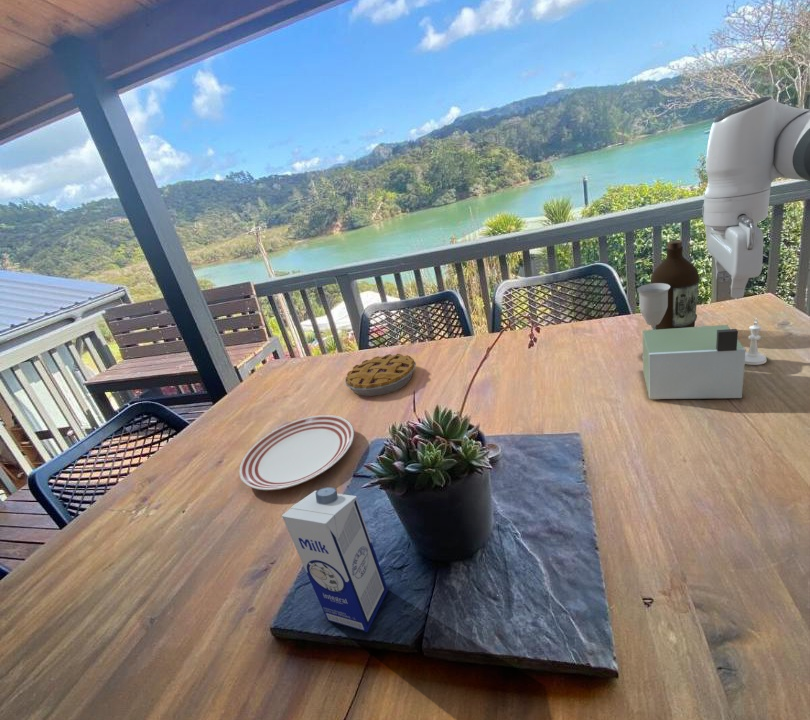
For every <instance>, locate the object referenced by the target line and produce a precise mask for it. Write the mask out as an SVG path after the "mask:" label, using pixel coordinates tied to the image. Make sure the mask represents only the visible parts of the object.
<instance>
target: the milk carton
mask: <svg viewBox="0 0 810 720" xmlns="http://www.w3.org/2000/svg"><path fill="white" fill-rule="evenodd" d="M281 518H282V520H283V522H284V524H285V526H286V529H287V531H288V533H289V536H290V538H291V540H292V542H293V545H294V547H295V550H296V552H297V554H298V556H299V559H300V561H301V563H302V565H303V568H304V571H305V572H306V575H307V577H308V579H309V582H310V584H311V586H312V589H313V592H314V593H315V595H316V598H317V600H318V603H319V604H320V607H321V609H322V611H323V614H324V616H325V618H326V620H327V621H328V622H332V623H335V624H338V625H342V626H345V627H349V628H352V629H356V630H359V631H362V632H365V633H368V632H369V630H370V629H371V626H372V624H373V622H374V620H375V618H376V616H377V614H378V612H379V609H380V607H381V605H382V604H383V601H384V599H385V597H386V595H387V593H388V591H389V589H388V586H387V584H386V580H385V577H384V574H383V572H382V568H381V566H380V562H379V560H378V557H377V553H376V551H375V548H374V545H373V542H372V539H371V536H370V533H369V530H368V528H367V524H366V522H365V519H364V515H363V512H362V510H361V507H360V504H359V502H358V498H357V495H352V494H344V493H338V490H337V488H336V487H333V486H327V487H322V488H320V489H318V490H314V491H312V492H311V493H310V494H307V496H305V497H303V498H302V499H300V500H299V501H297V502H296V503H295V504H293V505H292V506H290V508H288V509H287V510H286V511H285V512H284V513H282V515H281Z"/></svg>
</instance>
